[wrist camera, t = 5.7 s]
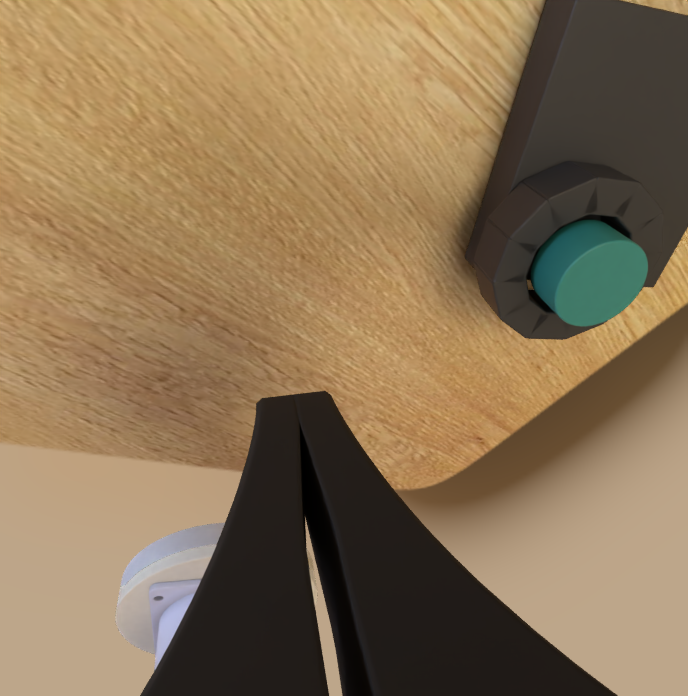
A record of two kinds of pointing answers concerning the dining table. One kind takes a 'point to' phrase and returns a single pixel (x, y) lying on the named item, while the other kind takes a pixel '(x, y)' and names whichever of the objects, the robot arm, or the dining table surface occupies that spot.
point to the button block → (587, 150)
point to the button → (588, 272)
